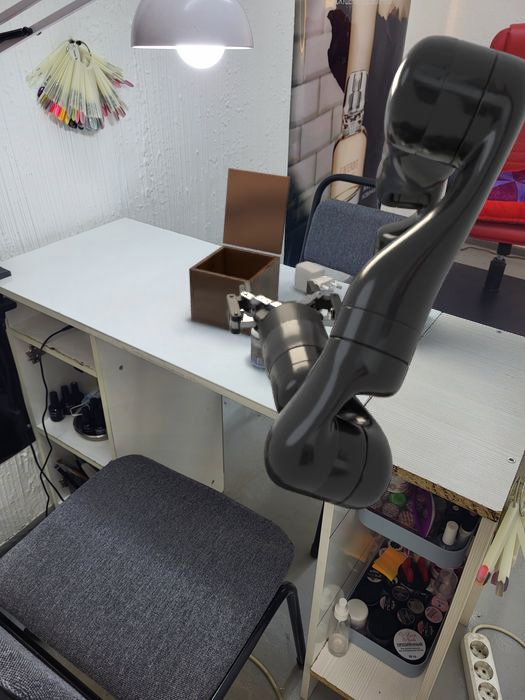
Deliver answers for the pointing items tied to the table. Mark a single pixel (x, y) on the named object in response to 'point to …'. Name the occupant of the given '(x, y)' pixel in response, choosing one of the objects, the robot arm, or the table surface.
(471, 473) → the table surface
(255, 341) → the pill bottle
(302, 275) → the power adapter
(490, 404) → the table surface
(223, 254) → the supply box
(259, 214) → the lid
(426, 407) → the table surface
